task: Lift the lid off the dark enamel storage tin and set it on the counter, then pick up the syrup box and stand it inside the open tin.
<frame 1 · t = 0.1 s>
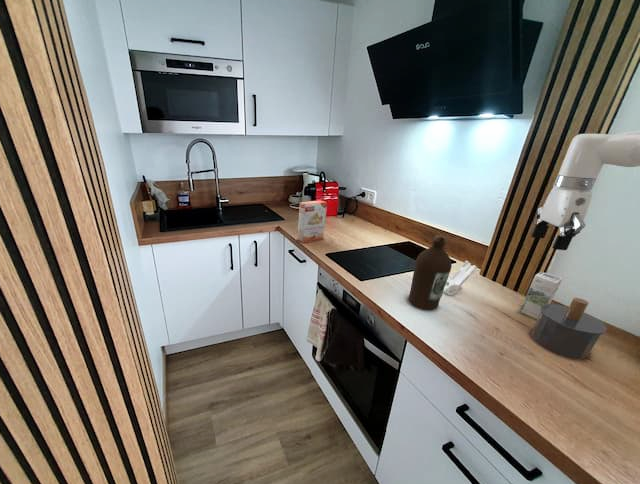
hand: (547, 243, 83), 27 cm above the worktop, tool pointing down, fingers open, 9 cm apart
cracker box: (310, 240, 156), on the worktop
tin lid: (571, 319, 79), point 8 cm above the worktop, touching tin
syrup box: (531, 314, 96), on the worktop
brown bottle: (422, 303, 100), on the worktop
plastic part: (450, 290, 110), on the worktop
tin: (558, 343, 83), on the worktop
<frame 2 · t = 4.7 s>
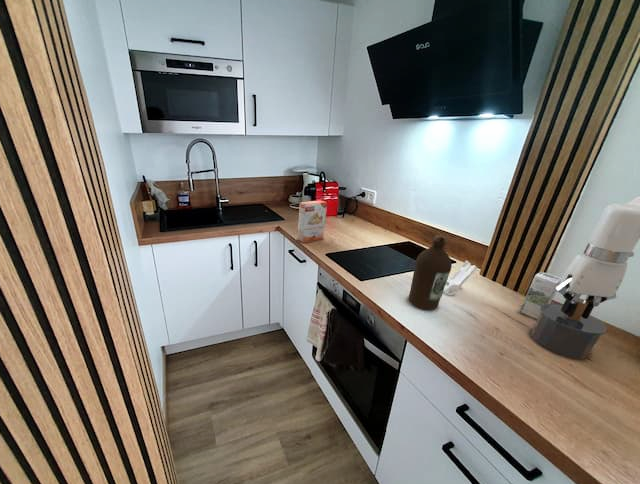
hand: (573, 314, 79), 10 cm above the worktop, tool pointing down, fingers closed on tin lid, 3 cm apart
tin lid: (571, 319, 79), point 9 cm above the worktop, touching gripper, tin
everything else where it was.
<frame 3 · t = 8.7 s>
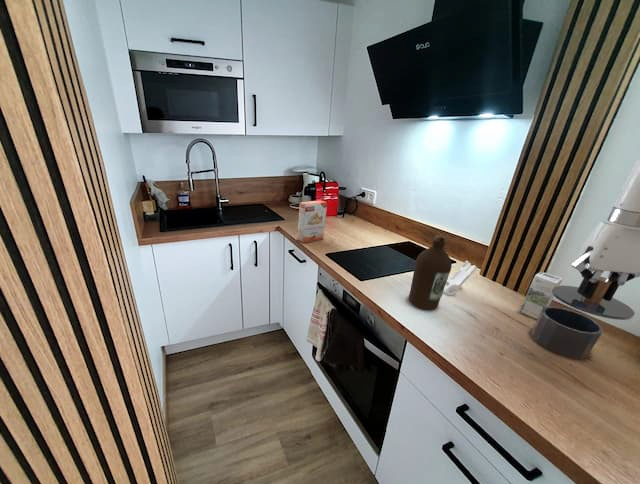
hand: (593, 295, 65), 22 cm above the worktop, tool pointing down, fingers closed on tin lid, 3 cm apart
tin lid: (589, 302, 66), point 20 cm above the worktop, touching gripper
everything else where it was.
when the fingers open (2 cm above the worktop, at t = 13.1 s): tin lid stays where it is, point 1 cm above the worktop.
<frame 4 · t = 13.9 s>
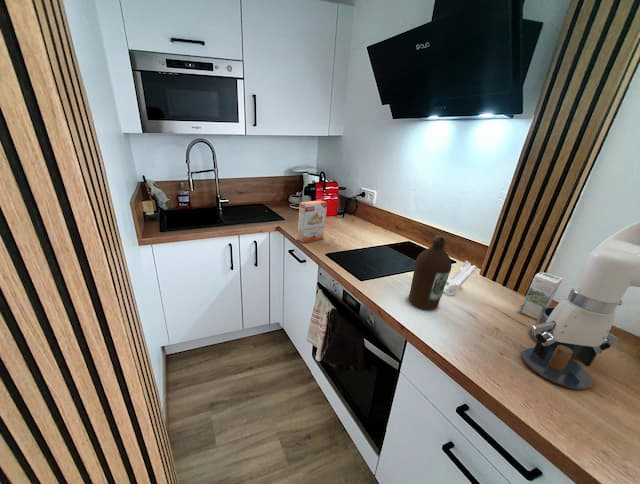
hand: (560, 358, 72), 4 cm above the worktop, tool pointing down, fingers open, 9 cm apart
tin lid: (555, 367, 73), point 1 cm above the worktop
everything else where it was.
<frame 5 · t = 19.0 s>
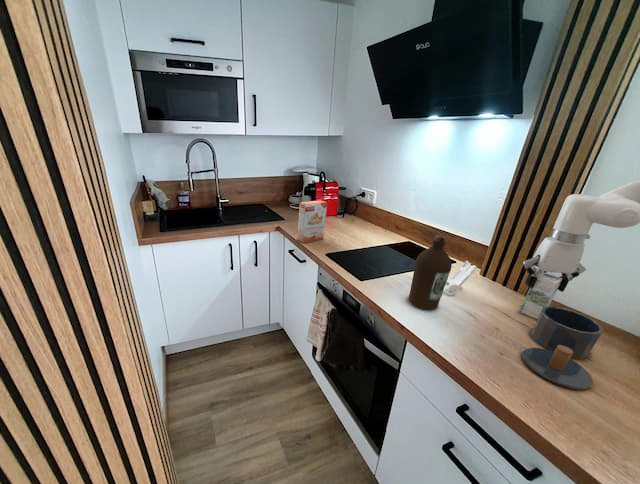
hand: (543, 287, 92), 10 cm above the worktop, tool pointing down, fingers closed on syrup box, 7 cm apart
syrup box: (531, 314, 96), on the worktop, touching gripper
everything else where it was.
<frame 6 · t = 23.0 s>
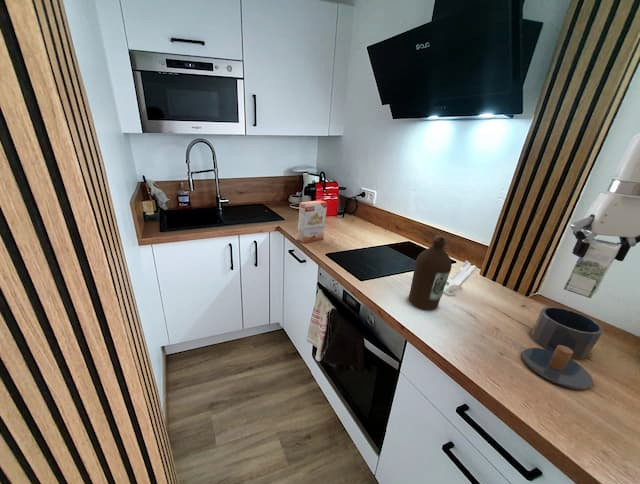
hand: (596, 256, 74), 27 cm above the worktop, tool pointing down, fingers closed on syrup box, 7 cm apart
syrup box: (578, 292, 78), point 16 cm above the worktop, touching gripper
everything else where it was.
when the fingers open (11 cm above the worktop, at t = 27.2 s): syrup box stays where it is, resting on tin.
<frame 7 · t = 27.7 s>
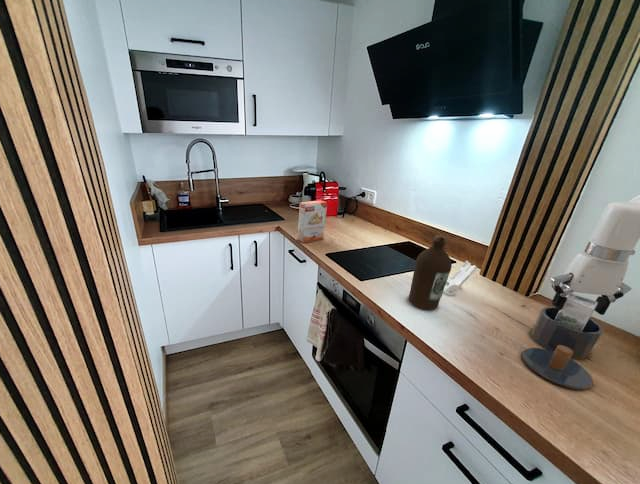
hand: (576, 309, 78), 12 cm above the worktop, tool pointing down, fingers open, 9 cm apart
syrup box: (559, 342, 82), resting on tin
everything else where it was.
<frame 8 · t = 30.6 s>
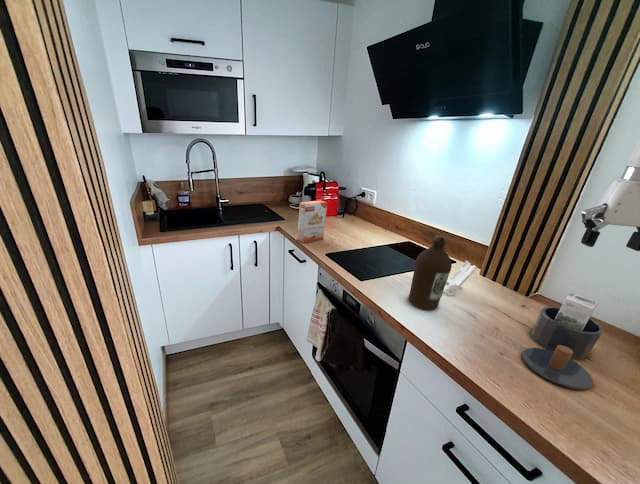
hand: (609, 246, 71), 30 cm above the worktop, tool pointing down, fingers open, 9 cm apart
nothing on the worktop moved.
at the end: tin lid inside the target area (0.0 cm from its centre), point 0.6 cm above the worktop; syrup box 0.1 cm off-centre in the tin, point 0.3 cm above the tin's base; syrup box tilted 0° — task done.
